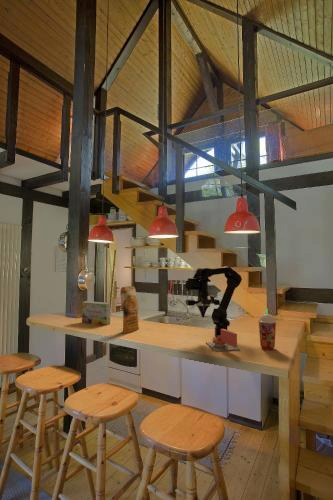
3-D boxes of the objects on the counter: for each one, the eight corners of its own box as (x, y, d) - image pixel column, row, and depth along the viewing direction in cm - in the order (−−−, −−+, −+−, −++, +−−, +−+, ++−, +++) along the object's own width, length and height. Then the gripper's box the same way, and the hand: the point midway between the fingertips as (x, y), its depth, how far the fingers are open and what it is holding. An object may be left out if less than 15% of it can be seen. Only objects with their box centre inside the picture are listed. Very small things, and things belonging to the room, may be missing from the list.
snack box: (81, 323, 197) (81, 301, 198) (86, 321, 202) (86, 300, 203) (106, 325, 188) (106, 303, 189) (110, 324, 194) (111, 302, 194)
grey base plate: (229, 342, 149) (229, 337, 149) (240, 350, 135) (240, 345, 135) (206, 343, 147) (206, 338, 147) (215, 351, 133) (215, 346, 133)
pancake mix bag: (116, 333, 168) (116, 287, 169) (134, 327, 184) (134, 285, 186) (125, 334, 165) (125, 287, 166) (142, 328, 181) (143, 285, 183)
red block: (210, 341, 143) (210, 327, 143) (221, 339, 145) (221, 326, 146) (229, 350, 128) (229, 334, 128) (241, 348, 131) (241, 333, 131)
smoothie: (272, 345, 143) (271, 307, 144) (279, 350, 135) (278, 309, 136) (256, 345, 143) (255, 307, 144) (262, 351, 134) (261, 309, 135)
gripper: (190, 291, 148) (190, 320, 147) (223, 291, 151) (223, 319, 150) (185, 289, 159) (185, 316, 158) (216, 289, 162) (216, 316, 161)
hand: (202, 317), depth 156 cm, fingers closed
